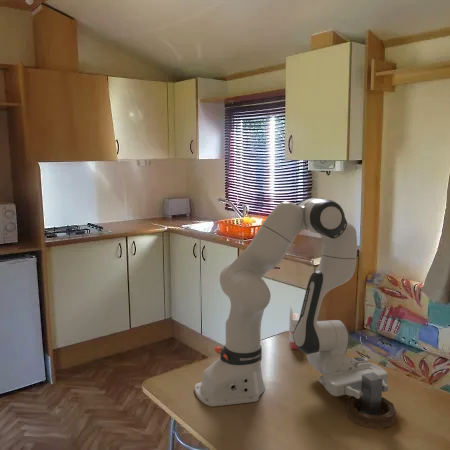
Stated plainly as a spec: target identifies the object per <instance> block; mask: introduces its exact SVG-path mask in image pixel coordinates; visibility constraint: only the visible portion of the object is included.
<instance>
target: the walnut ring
mask: <svg viewBox="0 0 450 450" xmlns="http://www.w3.org/2000/svg"><path fill="white" fill-rule="evenodd" d="M360 404H361V398H359V399H357V398H356V397H354V396H350V397H348V399H347V400H346V406H345V407H346V408H345V410H346V411H345V412H346V416H347V418H348V419H349V420H351V421H352V422H353V423H355V425H359V426H362V427H364V428H367V429H379V430H382V429H386V428H389V427H392V426H393V424H394V423H395V422H396V416H397V415H396V413H397V409H396V408H395V405H394V403H392V402H391V401H389V400H388V399H386V398H385V397H382V398H381V412H382V411H383V412H384V413H383V414H381V415H368V414H365V413H362V412H360V410H358V409H357V408H360Z"/></svg>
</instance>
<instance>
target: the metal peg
mask: <svg viewBox="0 0 450 450" xmlns="http://www.w3.org/2000/svg"><path fill="white" fill-rule="evenodd" d="M382 382H383V378H382V377H380V376H378V375H377V374H375V373H374V372H371V373H367V374H363V375H362V384H361V392H362V393H363V395H362V398H361V404H360V407H359V411H360V412H362V413H365V414H368V415H382V414H381V412H382V410H381V398H382V394H383V391H382Z"/></svg>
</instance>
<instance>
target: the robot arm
mask: <svg viewBox="0 0 450 450" xmlns="http://www.w3.org/2000/svg"><path fill="white" fill-rule="evenodd" d="M304 230H306V231H309V232H311V233H313V234H319V236H320V237H321V240H322V247H321V248H322V249H321V255H320V260H319V264H318V266H317V268H316V269H315V271H314V272H313V273H311V274H310V276H309V279H308V282H307V286H306V289H305V294H304V299H303V301H302V304H301V305H302V306H301V311H300V312H299V313H300V317H299V320H298V323H297V325H296V327H295V330H294V335H293V339H294V343H295V345H296V346H297V348H298V349H297V350H299V351H300V352H302V353H304V355H306V359H307V360H308V362H309V364H310V365H311V366H312V367H313V368H314V369H315V370H316V371H318V372H319V373H320V374H321V376H319V377H318V379H317V380H318V382H319V383H320V384H321V385H323V388H324V389H325V390H326V391H327V392H328V393H329V394H330V395H331V396H333V397H341V396H344V395H347V396H350V397H351V396H354V397H356V398H357V399H359V398H362V395H363V393H362V392H361V384H362V375H363V374H367V373H371V372H374V373H375V374H377V375H378V376H380V377H382V378H383V382H382V393H385V392H389V385H388V379H389V373H388V372H387V371H386V370H385V369H384V368H382V367H380V366H379V365H377V364H375V363H372V362H369V359H368V358H366V357H352V356H345V355H346V354H347V351H348V347H349V344H350V340H351V336H350V331H349V329H348V327H347V326H346V324H345V323H344V322H343V321H341V320H339V319H331V320H318V317H319V313H320V309H321V306H322V302H323V299H324V297H325V295H326V294H327V293H328V292H331V290H333V289H335V288H337V287H339V286H341V285H344V284H345V283H347V282H348V281H349V280H351V278H353V276H354V273H355V272H356V267H357V256H358V238H357V237H358V236H357V230H356V227H354V225H352V224H351V223H349V222H347V219H346V215H345V211H344V209H343V207H342V206H341V205H340V204H339V203H338V202H336V201H334V200H331V199H326V198H323V197H308V198H304V199H303V200H301V201H299V202H298V203H294V202H292V201H281V202H279V203H278V204H277V205H276V206H275V207H274V209H272V211H271V212H270V213H269V215H267V217H266V218H265V220H264V221H263V222H262V224H261V226H260V227H259V229H258V231H257V232H256V234H255V235H254V236H253V238H252V239H251V241H250V243H249V244H248V246H247V247H246V248H245V249H244V251H243V252H241V253H240V255H239V256H238V257H236V259H235V260H234V261H233V262H232V263H230V264H229V265H227V266H225V267H224V268H223V269H222V270H221V272H220V274H219V283H220V288H221V290H222V292H223V293H224V294H225V295H226V296H227V297H228V299H229V303H230V310H229V314H228V318H227V319H226V321H225V344H224V346H223V347H222V348H221V346H220V345H217V346H215V348H214V351H215V352H216V354H218V355H219V357H218V359H216V360H215V361H214V362H212V363H211V364H210V365H209V366H207V368H205V369H204V371H203V372H202V376H201V381H200V382H197V383H195V385H194V393H195V396H196V397H197V398H198V400H199V401H200V402H201V403H203V404H204V405H206V406H209V407H221V406H229V405H238V404H247V403H255V402H258V401H259V400H260V397H261V395H262V394H264V392H265V391H266V390H265V389H266V388H265V383H264V380H263V373H262V364H261V362H262V359H263V357H262V354H263V353H262V345H261V332H262V331H261V328H262V320H263V315H264V312H265V309H266V308H267V307H268V306H269V303H270V300H271V295H272V294H271V291H270V289H269V286H268V285H267V283H266V281H265V280H264V279H263V278H264V276H265V275H267V274H268V273H269V272H270V271H271V270H272V269H274V268H276V267H278V266H279V265H280V264H281V262H282V260H284V258H285V256H286V254H287V252H288V251H289V249H290V248H291V246H292V244H293V243H294V241H295V240H296V238H297V236H299V234H300V233H301V232H302V231H304Z"/></svg>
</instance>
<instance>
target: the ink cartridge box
mask: <svg viewBox="0 0 450 450" xmlns="http://www.w3.org/2000/svg"><path fill="white" fill-rule="evenodd" d="M300 313H301V312H299V313H298V312H297V313H295V312H293V307H292V306H290V310H289V328H288V333H289V334H288V342H289V345H290V349H291V350H299V349H298V348H297V346H296V345H295V343H294V339H293V335H294V330H295V327H296V325H297V323H298V320H299V317H300Z"/></svg>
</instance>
